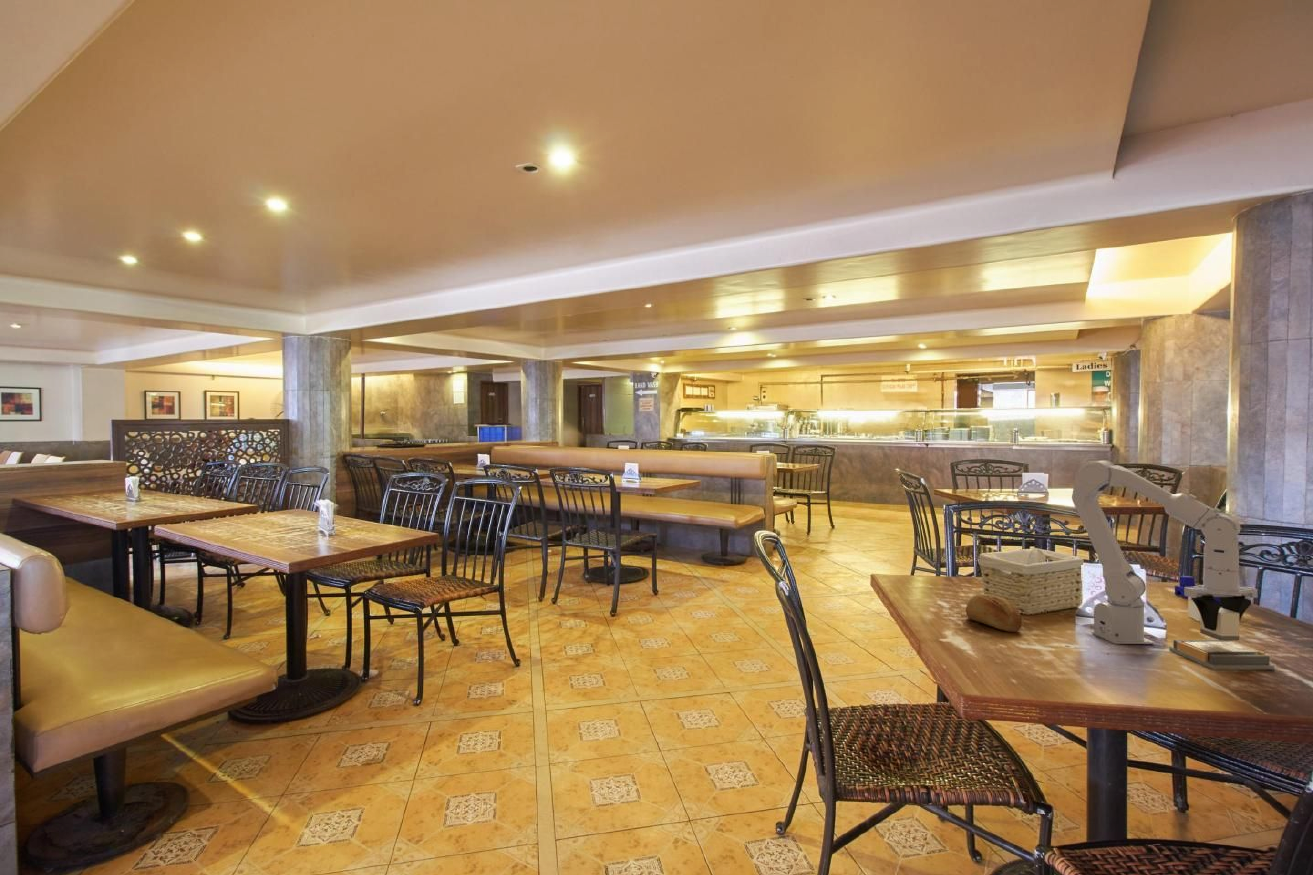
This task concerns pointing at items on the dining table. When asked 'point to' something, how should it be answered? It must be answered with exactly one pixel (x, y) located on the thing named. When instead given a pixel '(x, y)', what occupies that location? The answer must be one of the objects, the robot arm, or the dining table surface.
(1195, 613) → the white angled block
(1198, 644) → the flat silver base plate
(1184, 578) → the cable clip
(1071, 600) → the storage basket
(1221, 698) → the dining table surface
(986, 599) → the bread roll
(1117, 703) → the dining table surface
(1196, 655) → the rail panel
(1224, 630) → the block
